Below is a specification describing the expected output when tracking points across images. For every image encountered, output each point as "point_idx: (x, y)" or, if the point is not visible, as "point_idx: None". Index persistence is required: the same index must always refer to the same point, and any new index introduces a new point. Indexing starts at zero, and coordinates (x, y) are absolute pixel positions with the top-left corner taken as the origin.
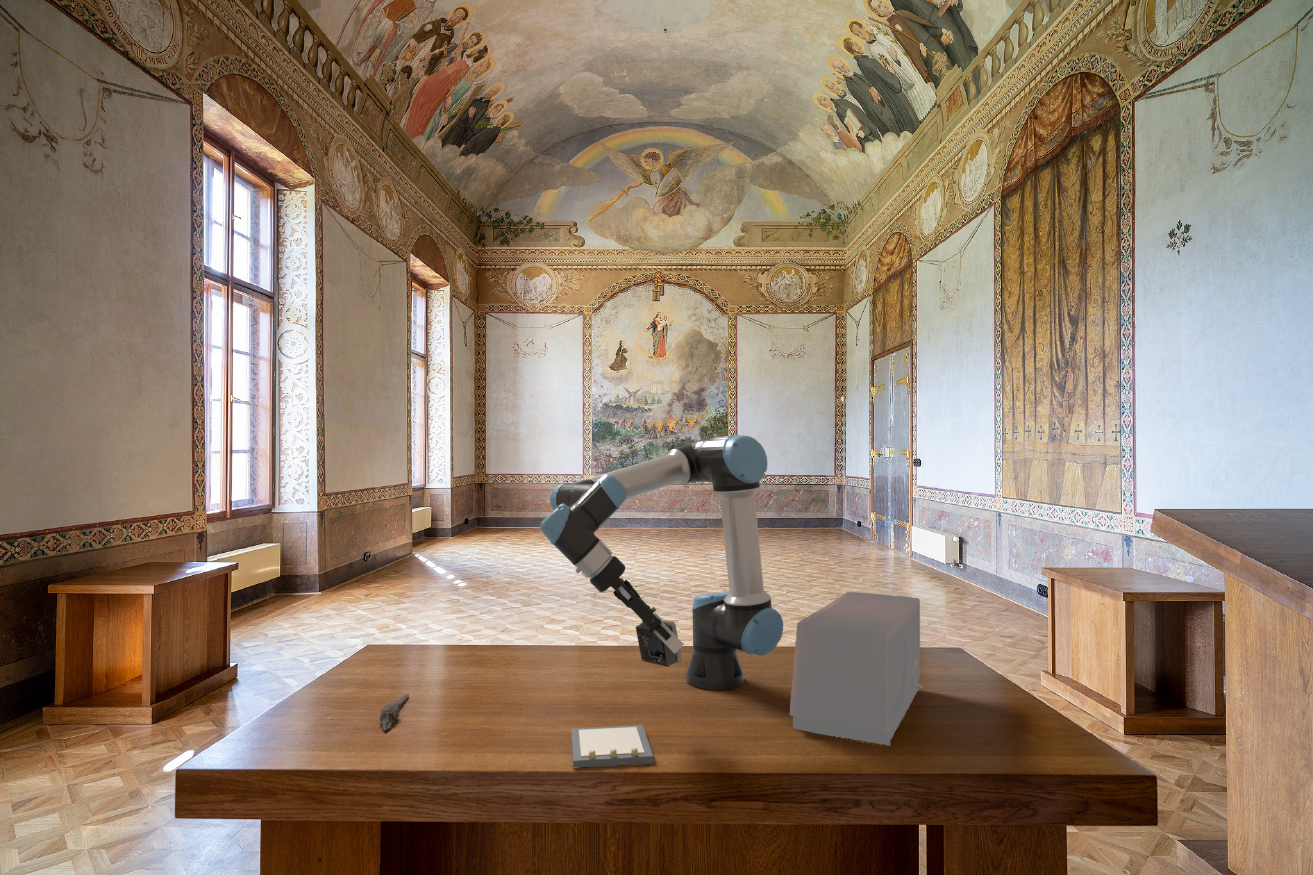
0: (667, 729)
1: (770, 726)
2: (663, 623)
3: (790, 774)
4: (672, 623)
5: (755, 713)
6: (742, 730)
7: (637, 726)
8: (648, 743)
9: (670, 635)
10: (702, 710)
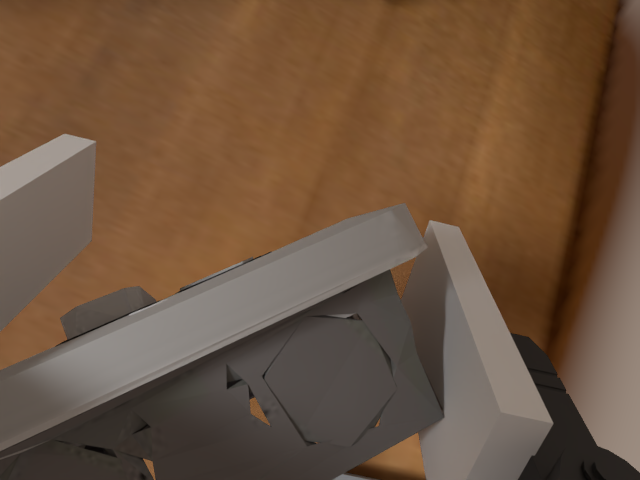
0: None
1: (296, 35)
2: (541, 403)
3: (592, 157)
4: (416, 239)
5: (181, 16)
6: (295, 118)
7: None
8: (354, 478)
9: (536, 347)
10: None
